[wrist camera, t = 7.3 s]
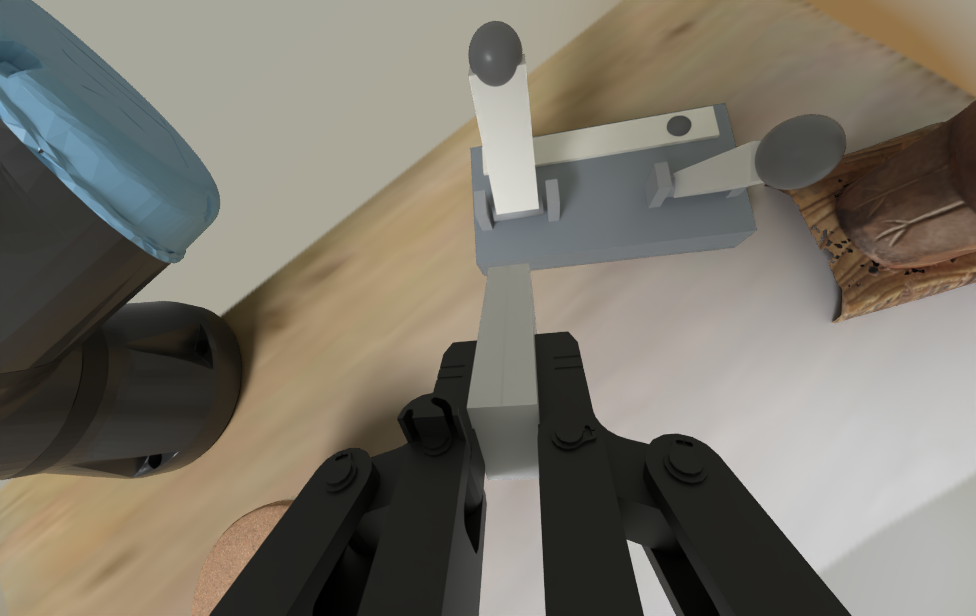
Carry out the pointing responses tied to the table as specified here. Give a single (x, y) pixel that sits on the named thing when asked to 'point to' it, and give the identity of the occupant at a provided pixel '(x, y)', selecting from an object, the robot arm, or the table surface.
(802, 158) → the lever
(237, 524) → the lidded jar
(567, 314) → the table surface
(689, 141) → the switch unit
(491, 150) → the marked lever
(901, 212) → the bird sculpture
